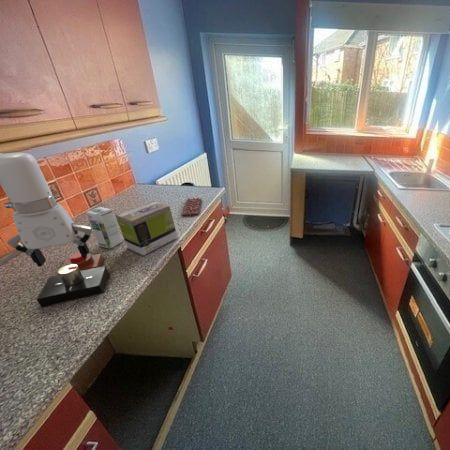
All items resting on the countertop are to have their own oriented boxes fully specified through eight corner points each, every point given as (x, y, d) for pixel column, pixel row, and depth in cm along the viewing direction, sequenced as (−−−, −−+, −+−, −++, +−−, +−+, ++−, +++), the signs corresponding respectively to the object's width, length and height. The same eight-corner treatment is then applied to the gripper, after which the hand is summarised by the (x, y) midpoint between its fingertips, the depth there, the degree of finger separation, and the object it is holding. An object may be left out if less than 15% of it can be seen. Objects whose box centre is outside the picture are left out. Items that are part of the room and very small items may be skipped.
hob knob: (62, 287, 71) (55, 274, 69) (67, 278, 75) (60, 265, 73) (81, 283, 73) (75, 270, 71) (85, 274, 77) (79, 262, 74)
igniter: (60, 279, 79) (54, 269, 77) (68, 265, 85) (63, 255, 83) (98, 271, 83) (94, 262, 81) (103, 258, 89) (99, 249, 87)
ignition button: (70, 264, 80) (68, 259, 79) (73, 257, 83) (71, 253, 82) (84, 261, 81) (82, 257, 80) (87, 255, 84) (85, 251, 83)
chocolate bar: (182, 216, 120) (181, 212, 119) (187, 201, 136) (186, 198, 135) (198, 215, 121) (197, 211, 121) (201, 200, 138) (200, 197, 137)
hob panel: (41, 307, 69) (36, 298, 67) (54, 284, 77) (49, 276, 75) (102, 292, 74) (99, 284, 73) (108, 273, 82) (105, 265, 81)
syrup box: (98, 246, 95) (84, 212, 88) (112, 238, 100) (100, 206, 93) (109, 249, 94) (96, 214, 87) (123, 241, 99) (112, 208, 92)
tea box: (162, 232, 106) (154, 200, 99) (178, 238, 102) (170, 205, 95) (126, 248, 95) (114, 213, 88) (142, 256, 91) (131, 220, 84)
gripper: (-22, 216, 56) (17, 275, 64) (74, 204, 63) (99, 259, 71) (-4, 203, 62) (29, 259, 70) (82, 194, 69) (104, 246, 77)
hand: (64, 259), depth 70 cm, fingers open, 9 cm apart
